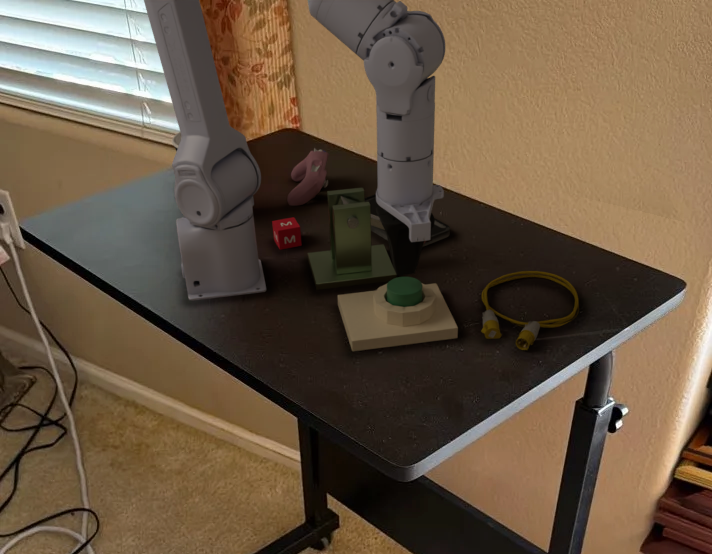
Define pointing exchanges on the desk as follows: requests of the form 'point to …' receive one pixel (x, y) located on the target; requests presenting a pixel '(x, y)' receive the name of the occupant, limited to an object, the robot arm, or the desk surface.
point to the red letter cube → (287, 233)
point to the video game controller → (309, 177)
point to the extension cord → (530, 327)
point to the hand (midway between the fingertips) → (404, 271)
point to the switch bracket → (350, 246)
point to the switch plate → (395, 319)
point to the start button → (404, 291)
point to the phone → (437, 231)
